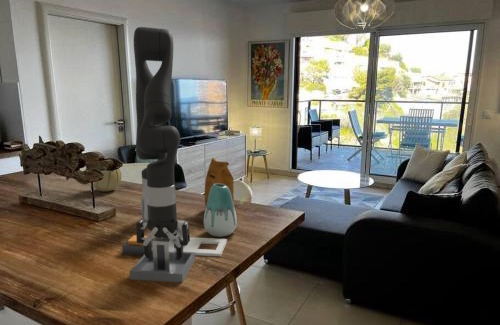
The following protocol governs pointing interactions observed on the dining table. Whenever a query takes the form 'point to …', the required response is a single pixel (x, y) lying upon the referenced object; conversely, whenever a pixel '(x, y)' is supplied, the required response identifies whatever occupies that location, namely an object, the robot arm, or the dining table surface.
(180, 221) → the block
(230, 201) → the vase
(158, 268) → the block
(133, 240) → the button
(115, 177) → the cantaloupe
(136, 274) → the tray
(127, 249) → the button housing
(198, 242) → the white slotted plate
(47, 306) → the dining table surface
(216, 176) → the coffee package
